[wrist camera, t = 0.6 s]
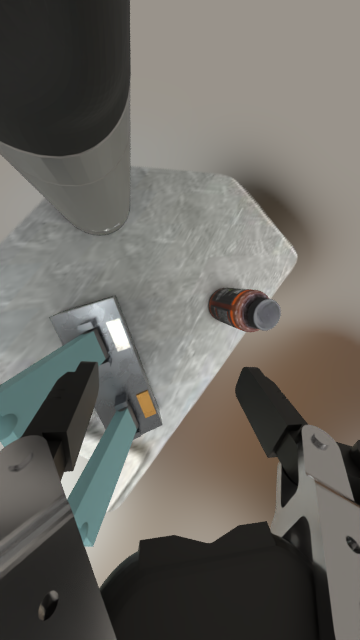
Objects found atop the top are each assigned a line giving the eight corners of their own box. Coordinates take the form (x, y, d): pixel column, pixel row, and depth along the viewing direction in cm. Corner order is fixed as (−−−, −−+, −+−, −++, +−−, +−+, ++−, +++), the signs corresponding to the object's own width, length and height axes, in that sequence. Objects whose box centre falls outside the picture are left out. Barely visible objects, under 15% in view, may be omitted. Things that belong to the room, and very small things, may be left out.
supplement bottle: (224, 326, 34) (268, 347, 23) (201, 308, 32) (237, 322, 21) (243, 300, 34) (295, 309, 23) (220, 280, 32) (266, 281, 21)
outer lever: (119, 402, 27) (45, 535, 14) (131, 401, 27) (66, 535, 14) (129, 423, 28) (67, 564, 15) (140, 421, 28) (88, 564, 15)
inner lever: (86, 330, 24) (-51, 415, 11) (100, 327, 24) (-26, 411, 10) (98, 356, 25) (-13, 463, 12) (111, 353, 25) (11, 460, 12)
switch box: (60, 312, 26) (40, 321, 21) (115, 295, 28) (111, 299, 22) (116, 427, 32) (113, 459, 27) (158, 408, 34) (164, 435, 28)
